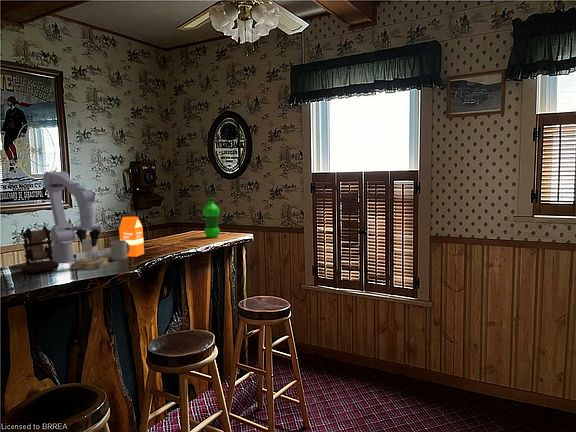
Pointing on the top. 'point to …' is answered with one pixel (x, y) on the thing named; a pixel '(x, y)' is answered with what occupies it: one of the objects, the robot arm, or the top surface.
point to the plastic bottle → (211, 219)
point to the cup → (119, 250)
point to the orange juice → (132, 235)
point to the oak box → (90, 263)
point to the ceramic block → (88, 245)
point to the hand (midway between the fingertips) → (89, 246)
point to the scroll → (38, 251)
